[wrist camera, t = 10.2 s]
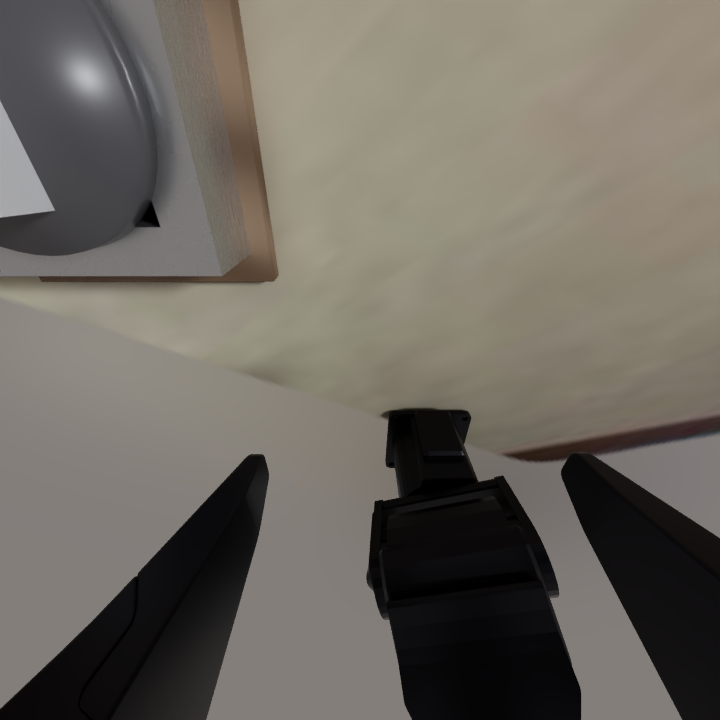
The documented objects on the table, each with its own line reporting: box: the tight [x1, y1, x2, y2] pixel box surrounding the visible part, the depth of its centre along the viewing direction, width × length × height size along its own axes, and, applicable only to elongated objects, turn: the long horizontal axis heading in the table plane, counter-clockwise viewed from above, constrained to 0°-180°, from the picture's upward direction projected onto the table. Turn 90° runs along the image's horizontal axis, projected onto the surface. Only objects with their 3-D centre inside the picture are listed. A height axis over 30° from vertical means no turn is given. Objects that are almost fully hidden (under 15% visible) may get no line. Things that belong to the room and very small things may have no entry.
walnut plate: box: [39, 0, 278, 282], centre depth 13 cm, size 14×13×1 cm
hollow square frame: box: [0, 0, 251, 276], centre depth 11 cm, size 11×11×4 cm
